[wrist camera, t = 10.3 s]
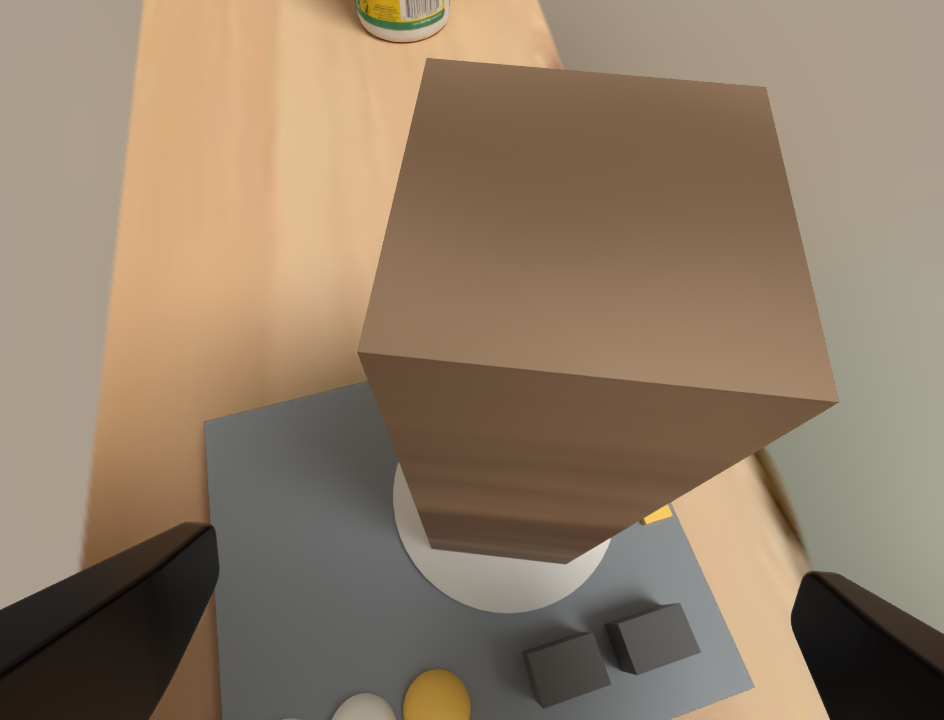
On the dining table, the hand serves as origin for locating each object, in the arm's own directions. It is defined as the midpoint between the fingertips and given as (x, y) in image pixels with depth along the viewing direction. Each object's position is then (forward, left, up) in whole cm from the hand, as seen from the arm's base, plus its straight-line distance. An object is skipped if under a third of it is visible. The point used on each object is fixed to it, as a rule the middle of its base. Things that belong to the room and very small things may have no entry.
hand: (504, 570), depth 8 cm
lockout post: (+3, -2, -8) cm, 8 cm away
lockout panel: (+2, 0, -9) cm, 10 cm away
